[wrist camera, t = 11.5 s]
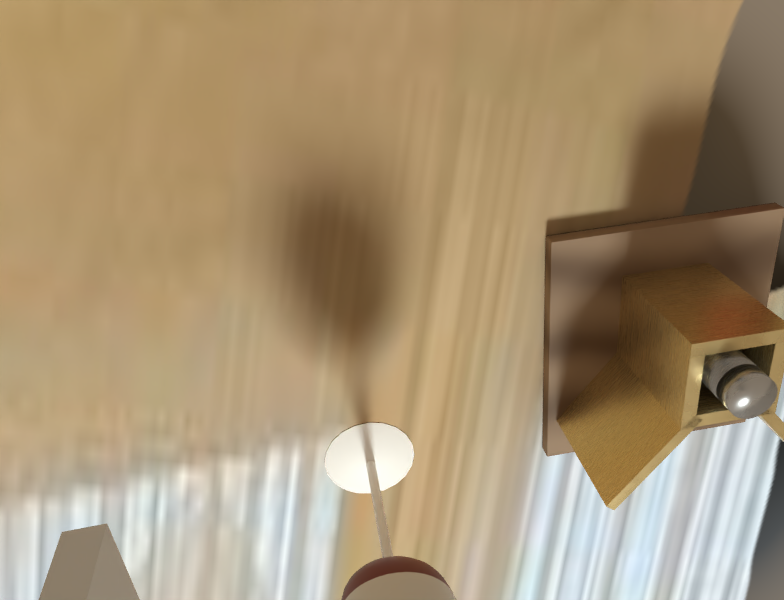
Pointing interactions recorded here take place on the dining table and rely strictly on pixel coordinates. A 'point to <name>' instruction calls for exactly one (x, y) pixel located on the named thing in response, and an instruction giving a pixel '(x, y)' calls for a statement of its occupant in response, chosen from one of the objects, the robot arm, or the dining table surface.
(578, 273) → the board
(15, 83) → the dining table surface
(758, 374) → the pin
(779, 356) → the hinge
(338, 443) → the wineglass
